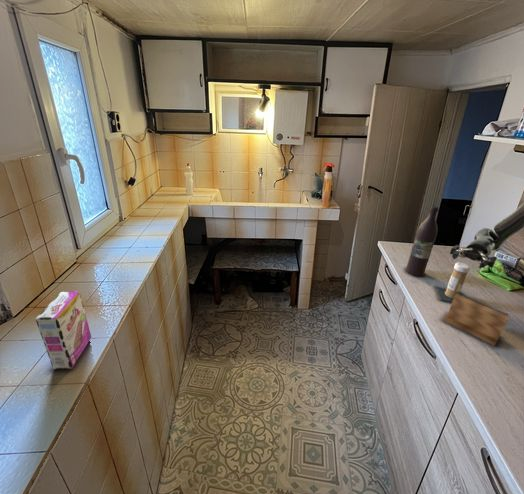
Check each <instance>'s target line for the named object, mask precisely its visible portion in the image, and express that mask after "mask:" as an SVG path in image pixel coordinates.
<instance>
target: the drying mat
mask: <svg viewBox="0 0 524 494" xmlns="http://www.w3.org/2000/svg"><path fill="white" fill-rule="evenodd" d="M446 289H447V288H441V287H436V292H437V295H438V296H439V300H440V301H443V302H447V303H451V304H452V302H453V298H450V297H448V296H446V295H445V292H446ZM459 294H461V295H463V294H462V292H461V291H460V293H459Z"/></svg>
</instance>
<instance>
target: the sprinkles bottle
mask: <svg viewBox="0 0 524 494" xmlns="http://www.w3.org/2000/svg"><path fill="white" fill-rule="evenodd" d="M470 270H471V266H470V265H469V264H467V263H464V262H458V261H457V262H455V264H454V266H453V271H452V274H451V275H450V277H449V281H448V282H447V283H448V284H447V287H446V288H445V289H446V292H445V295H446V296H448V297H450V298H453V299H454V297H455V296H456V295H459V293H460V292H461V291H462V288H463V286H464V283H465V280H466V278H467V275H468V273H469V272H470Z"/></svg>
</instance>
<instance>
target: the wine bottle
mask: <svg viewBox="0 0 524 494" xmlns="http://www.w3.org/2000/svg"><path fill="white" fill-rule="evenodd" d="M438 212H439V206H438V205H437V206H435V205H431V206H430V207H429V213H428V216H427V217H426V218H425V219H424V220H423V221H422V222H421V223H420V224H419V226H418V228H417V231H416V234H415V237H414V240H413V244H412V247H411V250H410V254H409V257H408V261H407V263H406V267H405V271H406V273H408V274H409V275H411V276H415V277H423V276H424V274H425V272H426V268H427V266H428V263H429V259H430V257H431V255H432V254H431V253H432V251H433V248H434V245H435V242H436V239H437V235H438V230H439V229H438V223H437V220H436V218H437V214H438Z"/></svg>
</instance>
